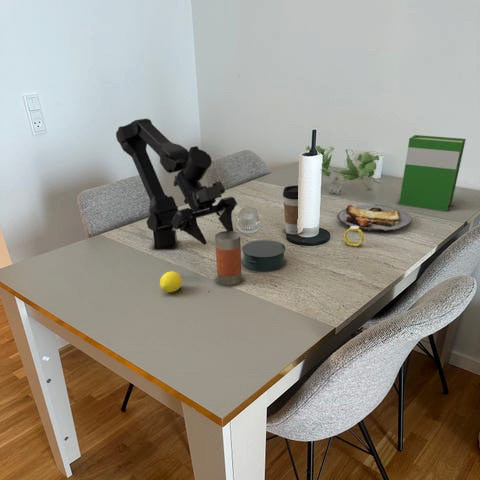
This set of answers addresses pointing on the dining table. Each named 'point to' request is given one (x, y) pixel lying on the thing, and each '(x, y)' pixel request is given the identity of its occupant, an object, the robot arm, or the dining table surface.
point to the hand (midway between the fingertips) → (219, 239)
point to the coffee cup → (291, 209)
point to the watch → (354, 228)
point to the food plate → (374, 217)
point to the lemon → (171, 281)
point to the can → (228, 257)
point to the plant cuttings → (349, 166)
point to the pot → (263, 255)
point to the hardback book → (431, 171)
